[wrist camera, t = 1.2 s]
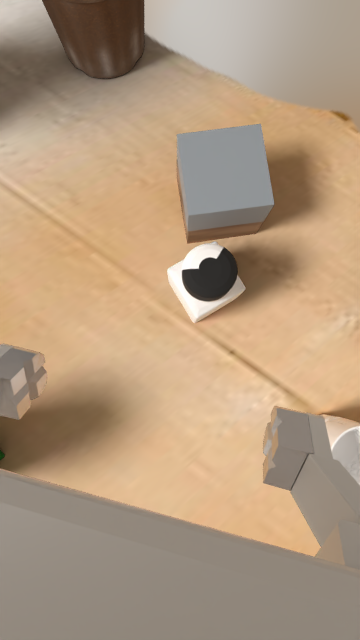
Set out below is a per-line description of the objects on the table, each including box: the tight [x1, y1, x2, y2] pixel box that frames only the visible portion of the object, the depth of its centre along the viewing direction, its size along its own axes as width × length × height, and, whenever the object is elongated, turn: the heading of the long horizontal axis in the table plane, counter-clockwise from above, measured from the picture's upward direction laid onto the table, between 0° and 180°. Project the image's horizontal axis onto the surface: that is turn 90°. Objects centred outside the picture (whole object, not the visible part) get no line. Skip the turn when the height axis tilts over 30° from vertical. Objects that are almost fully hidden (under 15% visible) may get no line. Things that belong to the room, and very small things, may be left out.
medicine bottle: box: [167, 242, 246, 323], centre depth 41 cm, size 7×7×12 cm
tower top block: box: [177, 124, 274, 231], centre depth 41 cm, size 10×10×5 cm
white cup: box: [320, 414, 360, 485], centre depth 40 cm, size 8×8×10 cm
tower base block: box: [177, 162, 264, 244], centre depth 46 cm, size 10×10×5 cm
